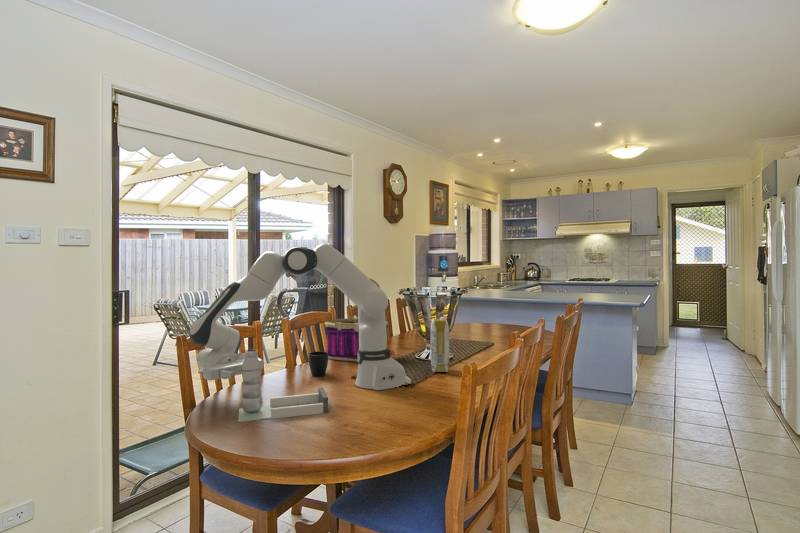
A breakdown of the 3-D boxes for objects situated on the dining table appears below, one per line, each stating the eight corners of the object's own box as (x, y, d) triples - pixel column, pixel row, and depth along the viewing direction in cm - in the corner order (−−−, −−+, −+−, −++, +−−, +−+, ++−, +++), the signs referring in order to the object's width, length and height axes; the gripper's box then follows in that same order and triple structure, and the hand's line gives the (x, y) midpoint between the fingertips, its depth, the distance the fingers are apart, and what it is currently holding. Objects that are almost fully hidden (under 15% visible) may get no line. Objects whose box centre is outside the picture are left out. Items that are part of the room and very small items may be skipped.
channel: (322, 400, 162) (322, 386, 162) (328, 412, 150) (328, 397, 150) (270, 406, 156) (270, 391, 156) (271, 418, 144) (271, 403, 144)
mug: (334, 371, 203) (334, 349, 203) (323, 378, 191) (323, 355, 191) (317, 370, 205) (316, 349, 204) (305, 377, 193) (305, 354, 193)
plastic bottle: (257, 414, 147) (256, 352, 146) (237, 413, 148) (236, 352, 147) (266, 408, 153) (265, 348, 153) (247, 407, 154) (246, 348, 154)
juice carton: (449, 373, 197) (449, 318, 196) (431, 373, 197) (431, 318, 197) (447, 368, 206) (447, 315, 206) (430, 368, 207) (430, 315, 206)
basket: (392, 355, 233) (391, 277, 231) (376, 364, 214) (375, 279, 213) (338, 351, 244) (337, 276, 243) (319, 359, 226) (318, 278, 224)
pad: (270, 406, 156) (270, 405, 156) (271, 418, 145) (271, 417, 145) (239, 409, 153) (239, 408, 153) (237, 422, 142) (237, 420, 142)
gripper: (195, 361, 154) (214, 368, 144) (251, 352, 169) (271, 357, 159) (195, 380, 154) (214, 388, 145) (251, 369, 169) (271, 375, 160)
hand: (245, 372), depth 152 cm, fingers open, 8 cm apart
